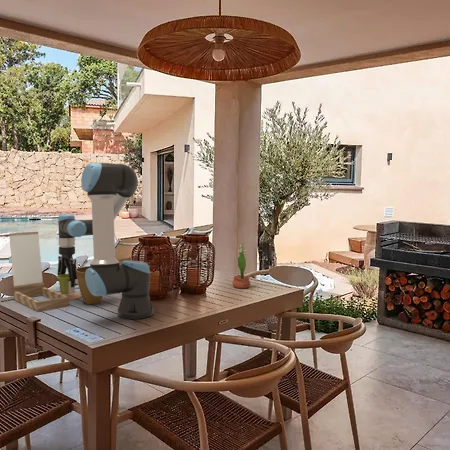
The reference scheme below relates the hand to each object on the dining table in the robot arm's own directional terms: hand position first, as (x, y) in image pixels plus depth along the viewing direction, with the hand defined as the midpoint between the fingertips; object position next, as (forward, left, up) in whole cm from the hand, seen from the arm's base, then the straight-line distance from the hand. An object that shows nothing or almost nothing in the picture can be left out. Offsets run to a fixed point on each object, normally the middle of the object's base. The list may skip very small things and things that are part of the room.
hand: (67, 291), depth 221 cm
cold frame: (-2, +14, -3) cm, 14 cm away
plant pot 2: (-17, -4, -3) cm, 18 cm away
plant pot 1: (0, 0, -1) cm, 1 cm away
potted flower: (-41, -82, -3) cm, 92 cm away
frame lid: (+13, +14, +16) cm, 25 cm away
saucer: (0, 0, -2) cm, 2 cm away
